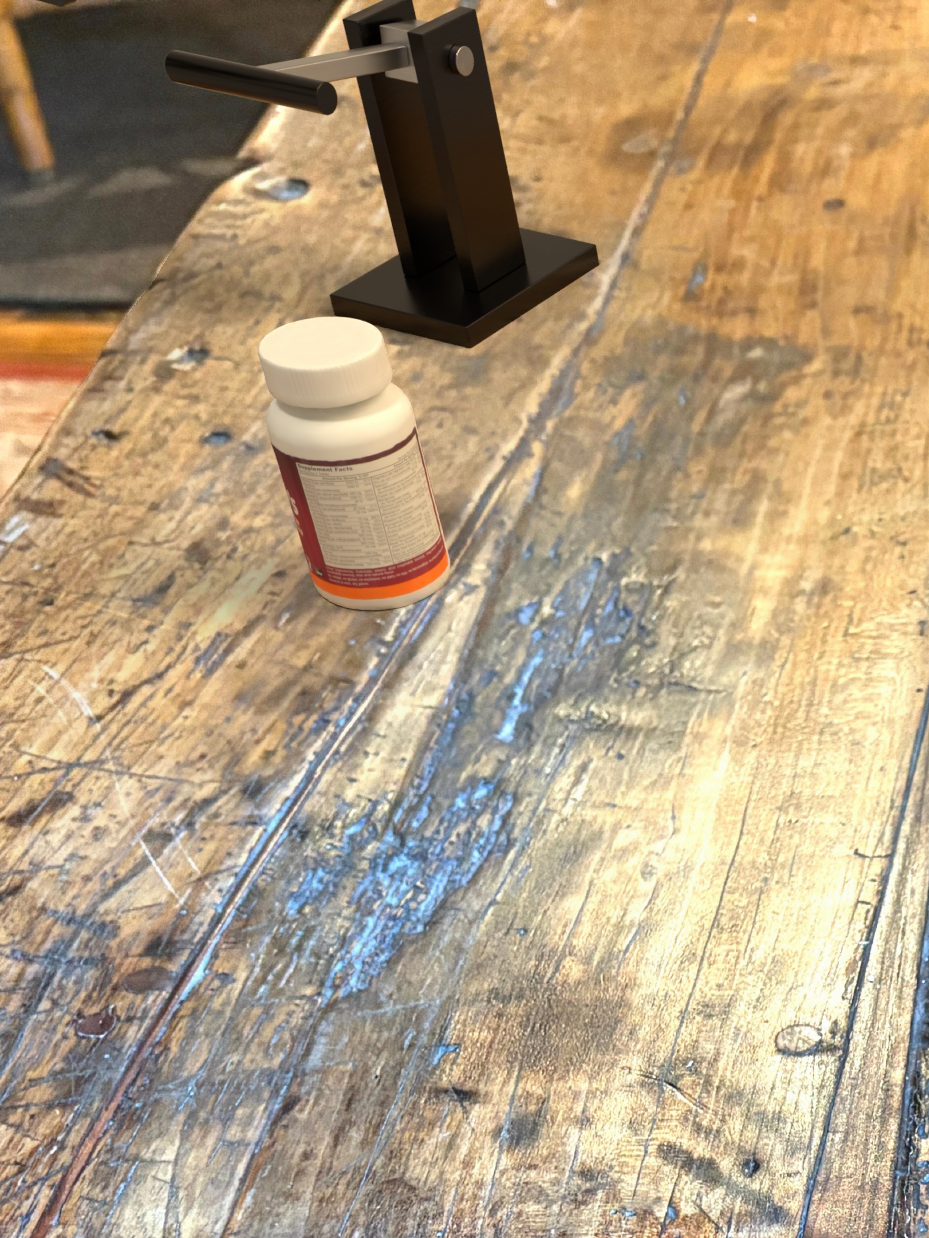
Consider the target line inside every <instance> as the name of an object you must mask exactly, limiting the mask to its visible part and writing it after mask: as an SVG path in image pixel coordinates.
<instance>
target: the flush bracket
mask: <svg viewBox="0 0 929 1238" xmlns="http://www.w3.org/2000/svg"><path fill="white" fill-rule="evenodd" d="M414 19H416V20H418V19H417V14H416V10H415V5H414V1H413V0H380V1H378V2H376V3H374V4H372V5H370V6H367V7H365V8H363V9H361V10H359V11H356V12H354V13H352V14H349V15H348V16H346V17H344V18H342V19H341V21H342V24H343V28H344V33H345V37H346V41H347V46H348V50H351V49H357V48H363V47H368V46H374V45H379V44H381V35H380V27H379V26H380V25H385V24H391V23H396V22H402V21H408V20H414ZM426 22H427V23H425V24H423V25H421V26H418V27H416V28H414V29H412V30H410V31H408V32H407V35H408V40H409V44H410V49H411V53H412V58H413V62H414V67H415V71H416V76H417V80H418V83H413V82H408V81H403V80H398V79H394V78H389V77H386V76H385V72H380V73H375V74H370V75H365V76H359V77H355V79H356V82H357V83H356V84H357V88H358V92H359V96H360V99H361V104H362V107H363V112H364V116H365V119H366V124H367V127H368V128H367V129H368V133H369V136H370V137H369V138H370V142H371V145H372V149H373V153H374V158H375V162H376V166H377V170H378V174H379V179H380V183H381V186H382V191H383V194H384V195H383V196H384V200H385V203H386V207H387V211H388V217H389V219H390V223H391V229H392V233H393V235H394V241H395V244H396V248H397V254H396V255H395V256H393V257H391V258H389V259H388V260H386V261H384V262H382V263H381V264H379V265H377V266H376V267H374V268H373V269H371V270H369V271H367V272H366V273H364V274H362V275H360V276H358V277H357V278H355V279H353V280H352V281H350V282H348V283H347V284H345V285H343V286H342V287H340V288H338V289H336V290H335V291H333V292H331V293H329V300H330V303H331V308H332V311H333V314H334V317H346V318H353V319H358V320H361V321H364V322H367V323H369V324H371V325H373V326H375V327H379V328H383V329H388V330H392V331H396V332H399V333H404V334H409V335H411V336H412V335H413V336H416V337H420V338H424V339H429V340H434V341H436V342H441V343H446V344H450V345H453V346H458V347H462V348H466V349H473V348H475V347H476V346H477V345H479V344H481V343H482V342H484V341H485V340H487V339H488V338H490V337H491V336H493V335H495V334H496V333H497V332H499V331H500V330H502V329H504V328H505V327H507V326H508V325H510V324H511V323H513V322H515V321H516V320H517V319H519V318H520V317H522V316H523V315H525V314H527V313H528V312H530V311H531V310H534V308H536V307H537V306H539V305H541V304H542V303H544V302H545V301H547V300H548V299H549V298H551V297H553V296H554V295H556V294H557V293H559V292H561V291H562V290H563V289H565V288H567V287H568V286H569V285H571V284H572V283H574V282H576V281H577V280H579V279H580V278H582V277H583V276H586V274H588V273H589V272H592V271H593V270H595V269H596V268H597V267H599V266H600V260H599V253H598V248H597V244H595V243H591V242H586V241H583V240H578V239H573V238H569V237H564V236H561V235H555V234H550V233H546V232H543V231H542V232H541V231H537V230H534V229H529V228H524V227H520V223H519V219H518V214H517V209H516V204H515V199H514V195H513V189H512V184H511V179H510V175H509V169H508V165H507V159H506V154H505V149H504V145H503V139H502V134H501V129H500V123H499V119H498V114H497V110H496V104H495V99H494V94H493V89H492V85H491V84H492V83H491V79H490V74H489V69H488V65H487V59H486V55H485V49H484V44H483V40H482V34H481V30H480V24H479V19H478V13H477V10H476V8H473V7H467V6H461V5H460V6H458V7H455V8H453V9H451V10H449V11H447V12H445V13H443V14H441V15H439V16H436V17H435V18H433V19H431V20H429V21H426Z"/></svg>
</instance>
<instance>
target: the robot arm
mask: <svg viewBox="0 0 929 1238" xmlns="http://www.w3.org/2000/svg"><path fill="white" fill-rule="evenodd" d="M36 1H37V2H41V3H45V4H49V5H52V6H56V7H60V8H63V7H66V6H69V5H72V4H75V3H76V2H77V1H78V0H36Z"/></svg>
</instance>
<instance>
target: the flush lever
mask: <svg viewBox="0 0 929 1238" xmlns="http://www.w3.org/2000/svg"><path fill="white" fill-rule="evenodd" d="M416 19H417V18H416ZM416 19H414V20H408V21H402V22H396V23H391V24H385V25H380V26H379V27H380V35H381V44H379V45H374V46H368V47H363V48H357V49H351V50H349V49H346V50H341V51H336V52H329V53H323V54H318V55H311V56H306V57H301V58H296V59H290V60H289V59H288V60H284V61H279V62H273V63H267V64H262V65H255V66H254V65H250V64H246V63H245V64H244V63H241V62H235V61H231V60H226V59H222V58H221V59H220V58H216V57H211V56H208V55H202V54H198V53H193V52H187V51H183V50H178V49H173V50H170V51H169V52H167V54H166V56H165V59H164V70H165V73H166V76H167V78H168V79H170V81H172V82H173V83H175V84H179V85H182V86H183V85H184V86H189V87H193V88H198V89H201V90H206V91H211V92H215V93H220V94H225V95H230V96H235V97H239V98H244V99H248V100H254V101H257V102H261V103H262V102H264V103H268V104H271V105H272V104H273V105H276V106H281V107H286V108H290V109H295V110H298V111H299V110H300V111H304V112H309V113H314V114H318V115H324V116H331V115H332V114H334V112H336V109H337V108H338V102H339V101H338V100H339V99H338V97H339V96H338V92H337V89H336V88H335V86H334V85H333V84H332V82H333V83H334V82H337V81H344V80H348V79H354V78H356V77H359V76H365V75H370V74H375V73H380V72H385V76H386V77H389V78H394V79H398V80H403V81H408V82H413V83H418V80H417V76H416V71H415V67H414V62H413V58H412V53H411V49H410V44H409V40H408V35H407V32H408V31H410V30H412V29H414V28H416V27H418V26H421V25H423V24H425V23H427V22H428V21H425V20H421V19H417V20H416Z"/></svg>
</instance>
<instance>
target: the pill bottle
mask: <svg viewBox="0 0 929 1238" xmlns="http://www.w3.org/2000/svg"><path fill="white" fill-rule="evenodd" d="M259 341H260V342H259V344H258V346H257V354H258V358H259V361H260V365H261V368H262V369H261V370H262V373H263V376H264V381H265V384H266V388H267V391H268V393H269V394H270V395H271V396H272V397H273V399H272V401H271V403H270V405H268V409H267V412H266V418H265V419H266V420H265V422H266V428H267V429H266V430H267V433H268V437H269V438H268V439H269V441H270V445H271V447H272V451H273V453H274V455H275V456H274V457H275V460H276V462H277V465H278V469H279V472H280V475H281V480H282V482H283V486H284V489H285V492H286V495H287V499H288V503H289V506H290V509H291V513H292V515H293V520H294V523H295V526H296V530H297V534H298V537H299V540H300V544H301V546H302V550H303V553H304V556H305V560H306V563H307V566H308V570H309V573H310V577H311V579H312V582H313V585H314V587H315V589H316V590H317V592H318V594H320V595H321V597H323V598H324V599H325V600H327V601H328V602H330V603H333V604H334V605H337V606H339V607H343V608H346V609H351V610H360V611H386V610H392V609H398V608H403V607H407V606H410V605H412V604H416V603H419V602H420V601H423V600H424V599H426V598H428V597H429V596H431V595H433V594H435V592H437V591H438V590H439V589H440V588H441V587H442V586H443V585H444V584H445V582H446V581H447V579H448V577H449V575H450V571H451V559H450V554H449V550H448V546H447V543H446V538H445V534H444V530H443V525H442V523H441V517H440V513H439V511H438V505H437V502H436V498H435V495H434V490H433V487H432V483H431V478H430V474H429V471H428V467H427V462H426V458H425V455H424V449H423V446H422V443H421V438H420V433H419V430H418V424H417V420H416V419H417V418H416V415H415V413H414V408H413V406H412V402H411V401H410V399H409V397H408V396H407V395H406V394H405V392H404V391H403V390H402V389H401V388H400V387H398V385H396V384H395V383H393V382H392V380H393V375H394V374H393V369H392V365H391V362H390V360H389V359H390V358H389V356H388V353H387V347H386V344H385V340H384V336H383V334H382V332H381V331H380V330H379V329H378V328H377V326H375V325H371V324H369V323H367V322H364V321H361V320H358V319H353V318H346V317H338V316H317V317H310V318H304V319H300V320H296V321H292V322H289V323H286V324H285V323H284V324H282V325H281V326H278V327H276V328H274V329H272V330H271V331H270V332H268V333H266V334H265V335H264V336H263V337H262V338H261V340H259Z"/></svg>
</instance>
